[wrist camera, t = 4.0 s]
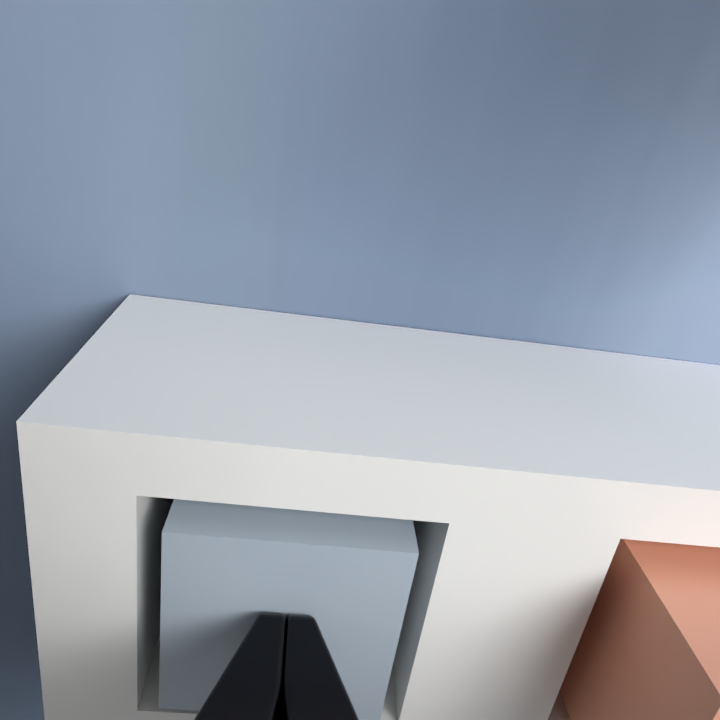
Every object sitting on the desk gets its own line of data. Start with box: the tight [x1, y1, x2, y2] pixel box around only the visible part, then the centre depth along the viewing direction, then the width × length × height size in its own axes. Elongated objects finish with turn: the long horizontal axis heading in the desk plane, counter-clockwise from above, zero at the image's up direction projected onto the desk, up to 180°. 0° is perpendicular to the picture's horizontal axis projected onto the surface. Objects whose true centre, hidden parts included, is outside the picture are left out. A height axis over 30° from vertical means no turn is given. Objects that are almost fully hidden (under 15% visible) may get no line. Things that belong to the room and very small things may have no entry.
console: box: [16, 294, 720, 720], centre depth 12 cm, size 6×14×5 cm, turn 82°
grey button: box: [159, 499, 419, 720], centre depth 12 cm, size 4×4×5 cm
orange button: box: [559, 539, 720, 720], centre depth 10 cm, size 4×4×5 cm
